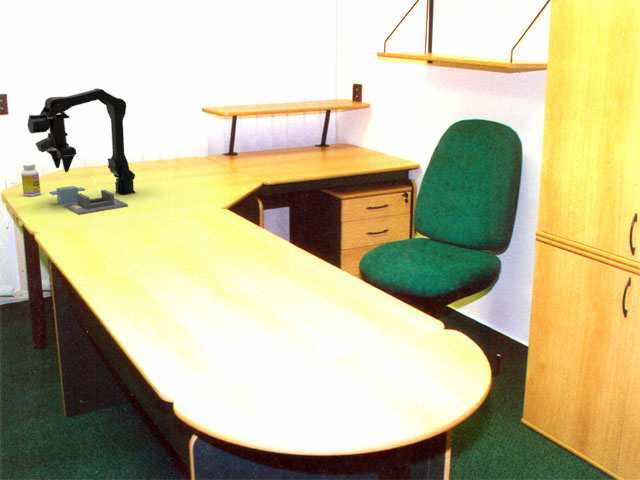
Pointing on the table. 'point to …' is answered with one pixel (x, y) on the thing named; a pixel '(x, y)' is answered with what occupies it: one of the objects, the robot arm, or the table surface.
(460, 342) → the table surface
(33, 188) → the supplement bottle
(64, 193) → the block
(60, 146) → the robot arm
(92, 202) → the chassis plate
